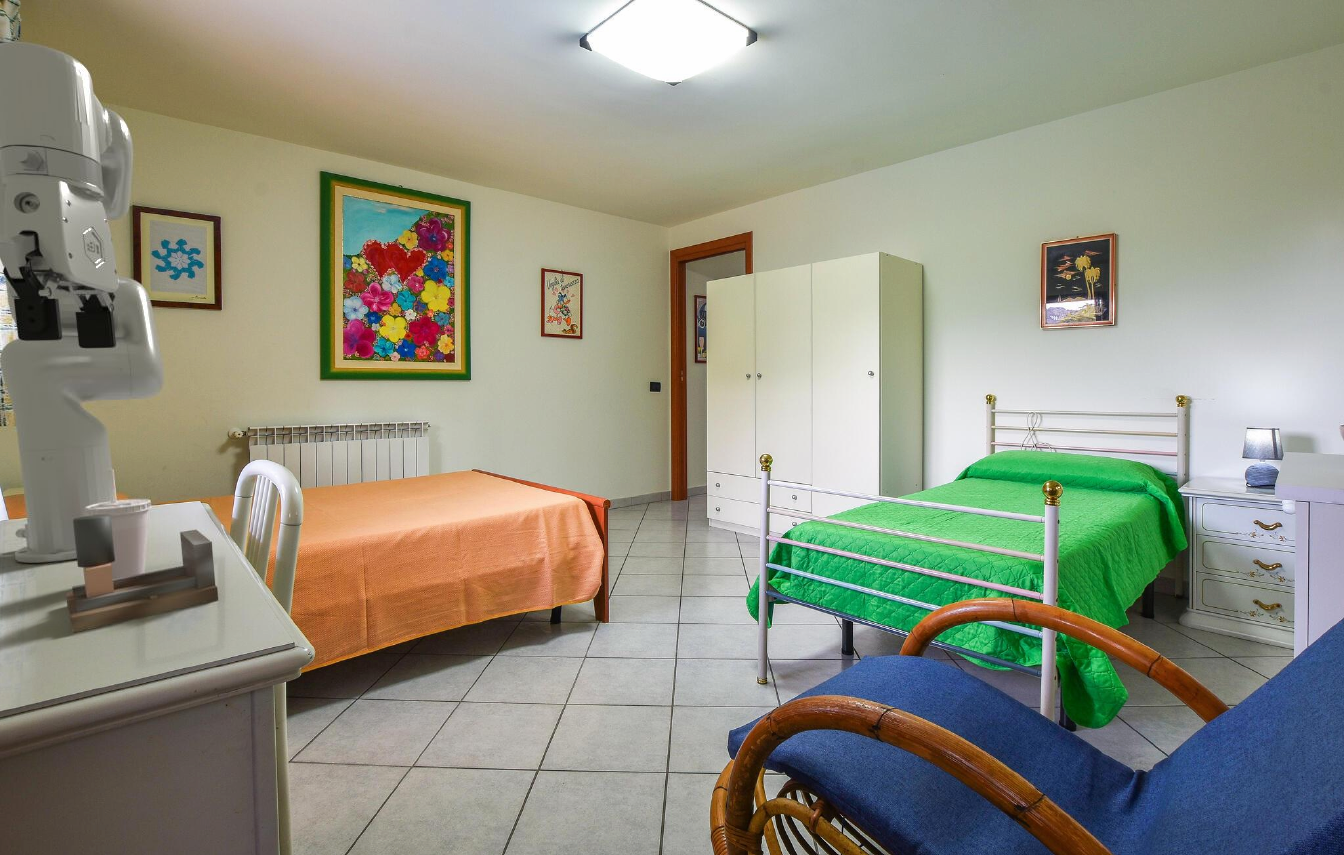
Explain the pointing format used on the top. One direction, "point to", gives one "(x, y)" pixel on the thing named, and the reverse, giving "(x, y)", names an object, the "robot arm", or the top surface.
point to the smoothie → (125, 530)
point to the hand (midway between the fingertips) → (71, 344)
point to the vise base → (150, 589)
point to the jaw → (95, 552)
